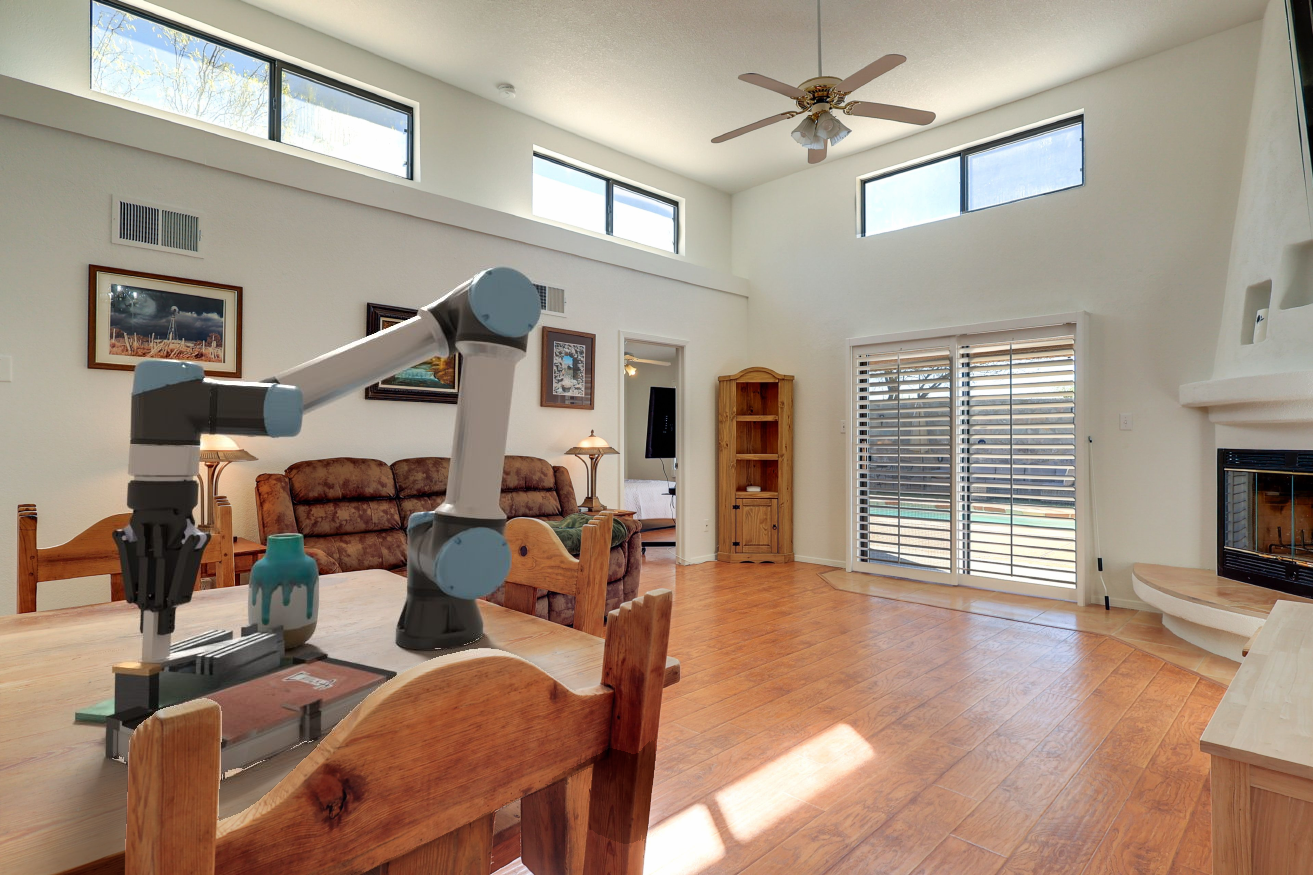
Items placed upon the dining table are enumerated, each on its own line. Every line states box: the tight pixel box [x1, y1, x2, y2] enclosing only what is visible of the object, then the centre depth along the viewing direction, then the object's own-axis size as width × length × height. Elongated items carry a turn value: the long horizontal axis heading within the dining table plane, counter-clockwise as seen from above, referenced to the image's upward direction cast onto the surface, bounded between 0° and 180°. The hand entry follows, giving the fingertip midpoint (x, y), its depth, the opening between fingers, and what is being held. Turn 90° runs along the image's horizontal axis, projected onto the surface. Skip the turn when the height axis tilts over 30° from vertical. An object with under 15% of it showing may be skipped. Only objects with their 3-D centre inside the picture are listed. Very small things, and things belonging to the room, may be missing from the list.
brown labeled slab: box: [104, 650, 398, 782], centre depth 83 cm, size 26×18×5 cm
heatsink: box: [74, 623, 293, 725], centre depth 94 cm, size 15×24×7 cm, turn 170°
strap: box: [137, 635, 250, 668], centre depth 95 cm, size 3×20×1 cm, turn 170°
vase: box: [247, 533, 320, 650], centre depth 114 cm, size 11×11×19 cm
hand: (155, 658), depth 87 cm, fingers closed
